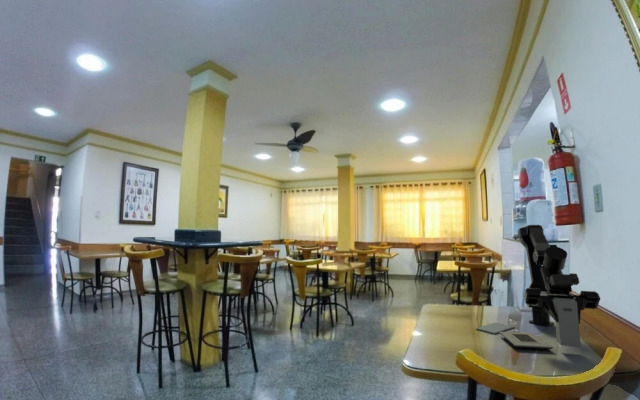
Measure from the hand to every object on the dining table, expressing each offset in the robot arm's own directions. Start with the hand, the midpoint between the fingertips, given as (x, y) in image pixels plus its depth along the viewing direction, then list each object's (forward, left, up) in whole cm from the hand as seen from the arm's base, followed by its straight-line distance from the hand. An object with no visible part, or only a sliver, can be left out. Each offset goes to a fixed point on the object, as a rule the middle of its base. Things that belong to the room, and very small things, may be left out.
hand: (568, 322), depth 92 cm
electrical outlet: (+2, -12, -10) cm, 15 cm away
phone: (-6, -26, -10) cm, 28 cm away
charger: (-1, -1, -7) cm, 7 cm away
